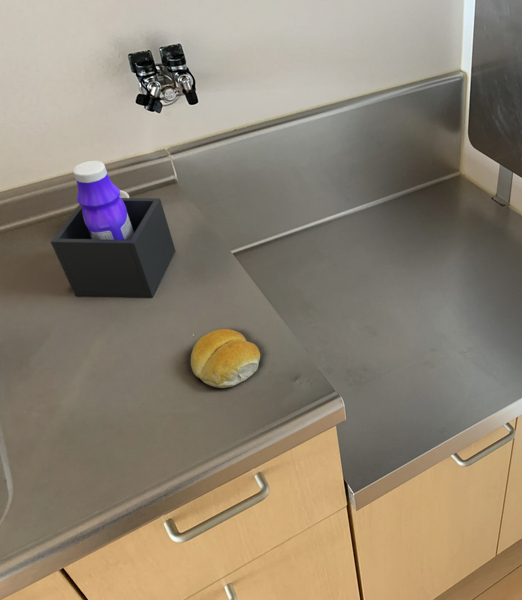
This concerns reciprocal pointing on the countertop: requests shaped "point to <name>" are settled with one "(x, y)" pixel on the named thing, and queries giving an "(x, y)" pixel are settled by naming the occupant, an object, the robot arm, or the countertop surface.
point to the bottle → (101, 203)
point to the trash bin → (117, 253)
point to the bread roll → (224, 358)
